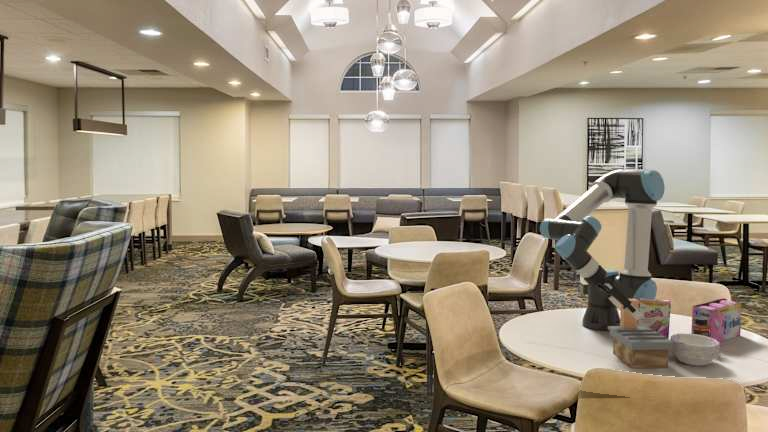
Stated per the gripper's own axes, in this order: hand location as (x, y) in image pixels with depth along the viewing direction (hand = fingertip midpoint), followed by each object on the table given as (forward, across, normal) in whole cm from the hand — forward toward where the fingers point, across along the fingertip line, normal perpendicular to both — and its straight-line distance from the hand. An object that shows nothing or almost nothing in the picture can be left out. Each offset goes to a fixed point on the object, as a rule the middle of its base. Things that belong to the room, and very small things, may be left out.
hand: (631, 312), depth 228 cm
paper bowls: (+23, +11, +2) cm, 25 cm away
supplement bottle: (+30, -3, +9) cm, 31 cm away
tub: (+10, +9, -10) cm, 17 cm away
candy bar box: (+20, -11, -1) cm, 23 cm away
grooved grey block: (+5, +8, -6) cm, 11 cm away
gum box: (+39, -16, +19) cm, 47 cm away
